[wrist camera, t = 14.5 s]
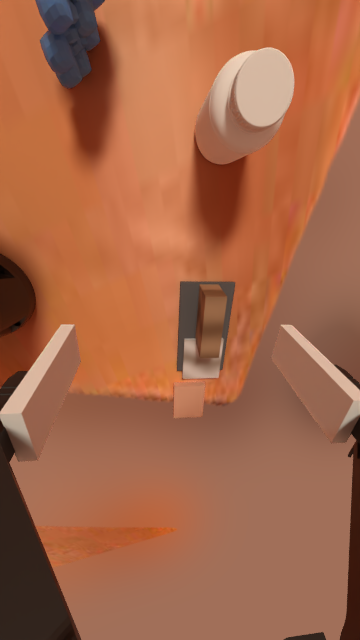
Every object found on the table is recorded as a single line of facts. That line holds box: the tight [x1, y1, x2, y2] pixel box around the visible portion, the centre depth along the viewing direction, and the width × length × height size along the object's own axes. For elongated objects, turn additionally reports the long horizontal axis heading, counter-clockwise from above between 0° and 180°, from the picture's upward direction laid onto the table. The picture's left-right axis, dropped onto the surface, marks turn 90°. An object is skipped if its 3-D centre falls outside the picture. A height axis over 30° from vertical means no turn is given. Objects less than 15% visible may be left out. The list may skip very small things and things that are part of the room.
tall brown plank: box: [182, 284, 227, 379], centre depth 46 cm, size 22×8×6 cm, turn 178°
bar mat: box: [177, 282, 235, 371], centre depth 48 cm, size 10×20×1 cm, turn 178°
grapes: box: [35, 0, 105, 89], centre depth 23 cm, size 12×7×12 cm, turn 152°
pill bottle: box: [195, 48, 294, 164], centre depth 27 cm, size 8×8×15 cm
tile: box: [173, 381, 205, 418], centre depth 57 cm, size 7×2×10 cm
